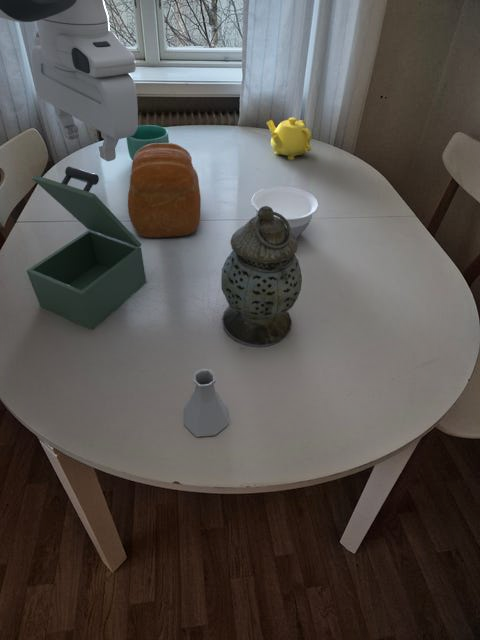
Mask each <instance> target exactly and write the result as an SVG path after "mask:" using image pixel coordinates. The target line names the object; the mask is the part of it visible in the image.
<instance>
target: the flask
mask: <svg viewBox="0 0 480 640" xmlns="http://www.w3.org/2000/svg"><path fill="white" fill-rule="evenodd" d="M192 377H193V378H192V379H193V384H194V390H193V392H192V394H191V396H190V398H189V399H188V401H187V403H186V405H185V407H184V409H183V425H184V426H185V427H186V428H187V429H188V430H189V432H190V433H192V435H193V436H194V437H196V438H201V437H210V436H216V435H217V434H219V433H220V432H221V431H222V430H223V429H225V428H226V427H228V426H229V425H230V420H229V411H228V408H227V406H226V404H225V403H224V402H223V400H222V399H221V397H220V396H219V394H218V392H217V390H216V387H215V383H216V373H214V372H213V371H212V370H211V369H210V368H200V369H198V370H197V371H195V372H193V374H192Z"/></svg>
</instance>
